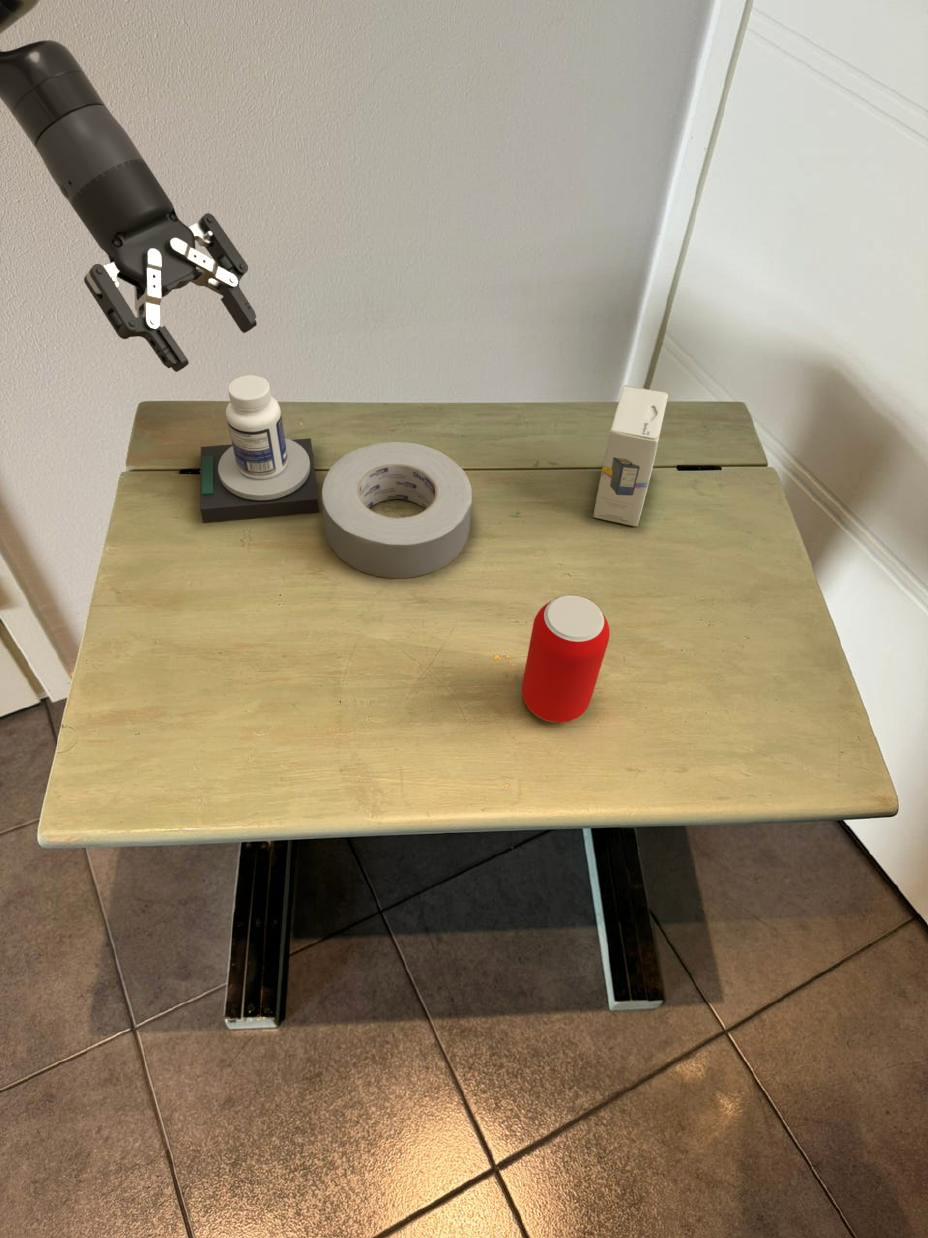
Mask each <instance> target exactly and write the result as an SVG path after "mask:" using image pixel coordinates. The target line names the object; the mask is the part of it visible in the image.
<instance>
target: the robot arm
mask: <svg viewBox="0 0 928 1238" xmlns="http://www.w3.org/2000/svg"><path fill="white" fill-rule="evenodd" d="M40 1H41V0H0V35H1V34H3V33H4V32H6V31H7V30H8V29H10V28H11V27H12V26H13V25H15V24H16V23H17V22H18V21H19V20H21V19H22V18H24V17H26V15H27V14H29V13H30V12H31V11H33V10H34V8H36V6H37V5H38V4H39V3H40ZM0 100H1V101H2V103H4V105H5V107H7V109H8V111H9V112H10V113H11V115H12V116H13V117H14V119H15V120H16V122H17V123H18V125H19V126H20V128H21V129H22V131H23V132H24V133H25V135H26V137H27V138H28V140H29V141H30V142H31V144H32V145H33V146H34V148H35V149H36V151H37V153H38V154H39V156H40V157H41V159H42V161H43V164H44V165H45V167H46V169H47V171H48V173H49V174H50V177H51V178H52V179H53V181H54V183H55V184H56V186H57V187H58V189H59V191H60V193H61V194H62V196H63V197H64V198H65V199H66V200H67V202H68V203H69V205H70V206H71V208H72V209H73V210H74V211H75V212H74V213H76V214H77V216H78V217H79V219H80V220H81V222H82V224H83V225H84V226H85V228H86V229H87V230H88V233H90V235H91V236H92V238H93V239H94V241H95V242H96V244H97V246H98V247H99V248H100V249H101V250H102V251H103V252H104V253H105V254H106V256H107V257H108V259H109V263H107V264H104V265H102V264H101V263H95V264H93V265H92V266H91V267H90V269H89V271H87V273H86V274H85V276H84V278H83V282H84V284H85V285H86V288H87V289H88V291H89V292H90V293H91V295H92V297H93V298H94V300H95V301H96V303H97V305H98V306H99V308H100V309H101V311H102V312H103V315H104V316H105V317H106V319H107V320H108V322H109V323H110V325H111V326H112V328H113V330H114V331H115V334H116V335H117V336H118V337H119V338H120V339H122V340H128V339H129V338H138V337H140V338H142V339H144V340H145V341H146V342H147V343H148V345H149V346H150V347H151V349H152V350H153V352H154V353H155V355H156V356H157V357H158V359H159V360H160V362H161V363H162V364H163V366H164V367H166V368H167V369H172V370H173V371H174V372H176V373H177V372H178V373H179V372H180V371H181V370H183V369H185V368H186V367H187V366H188V365H189V359H188V358H187V356H186V355H185V353H184V352H183V350H182V348H181V347H180V346H179V345H178V343H177V342H176V340H175V339H174V337H173V335H172V334H171V333H170V331H169V329H168V328H167V327H166V325H163V326H161V307H160V306H161V303H162V298H164V297H167V296H169V294H170V293H171V292H172V291H173V290H179V289H182V288H184V287H186V286H187V285H188V284H189V283H191V284H194V285H195V286H198V287H205V288H207V289H209V290H210V291H212V292H215V293H217V294H219V295H220V296H222V298H220V301H221V303H222V304H223V305H224V307H225V309H226V311H227V312H228V313H229V315H230V316H231V318H232V320H233V321H234V323H235V325H236V326H237V327H238V329H239V330H240V331H241V333H243V334H247V332H249V331H251V330H252V329H254V328H255V327H256V326H257V325H258V322H257V320H256V318H257V314H256V311H255V310H254V308H253V306H252V305H251V303H250V302H249V300H248V299H247V297H246V295H245V294H244V293H243V291H242V289H241V287H240V281H241V279H242V278H243V277H244V275H245V274H246V273H248V271H249V266H248V264H247V262H246V260H245V259H244V257H243V256H242V255H241V253H240V252H239V250H238V249H237V248H236V246H235V244H234V243H233V242H232V241H231V239H230V237H229V236H228V234H227V233H226V232H225V230H224V228H223V227H222V226H221V224H220V222H218V220H217V219H216V217H215V216H214V215H213V214H212V213H209V212H207V213H205V214H203V216H202V217H200V218H199V220H198V221H196V222H195V223H192V224H191V225H189V226H188V225H186V224H185V223H184V222H182V220H180V219H179V217H178V215H177V212H176V210H175V207H174V204H173V202H172V201H171V199H170V197H169V196H168V194H167V192H166V191H165V190H164V189H163V187H162V186H161V184H160V182H159V181H158V179H157V177H156V176H155V175H154V173H153V171H152V170H151V168H150V167H149V165H148V163H147V162H146V161H145V159H144V158H143V156H142V154H141V153H140V151H139V150H138V148H137V147H136V145H135V143H134V142H133V141H132V138H131V137H130V136H129V134H128V133H127V131H126V130H125V129H124V127H123V125H121V124H120V123H119V121H118V120H117V119H116V118H115V116H114V115H113V114H112V112H111V111H110V110H109V109H108V107H107V105H106V104H105V102H104V100H103V99H102V97H101V96H100V95H99V93H98V91H97V90H96V88H95V86H94V85H93V83H92V82H91V81H90V79H89V78H88V76H87V74H86V73H85V71H84V70H83V68H82V67H81V64H80V63H79V62H78V61H77V59H76V57H75V56H74V55H73V54H72V52H71V51H70V49H68V48H67V47H66V46H65V45H64V44H62V43H61V42H59V41H56V40H50V39H43V40H38V41H35V42H30V43H28V44H27V43H26V44H25V45H22V46H19V47H18V48H14V49H10V50H5V51H4V50H3V51H2V49H0ZM196 242H197V244H198V246H200V247H204V248H205V249H206V251H207V252H208V253H209V256H211V257H209V256H208V255H206V254H204V253H202V252H200V251H198V250H197V249H196ZM118 279H120V280H122V281H124V282H126V283H127V284H129V285H131V286H133V287H134V309H135V311H136V315H135V314H134V312H133V311H132V309H131V306H129V304H128V302H127V301H126V299H125V297H124V295H122V293H121V291H120V289H119V286H120V283H119V280H118Z"/></svg>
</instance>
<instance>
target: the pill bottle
mask: <svg viewBox="0 0 928 1238" xmlns="http://www.w3.org/2000/svg"><path fill="white" fill-rule="evenodd" d="M270 386H271V385H270V384H269V381H268V380H267V379H265V378H263V377H262V376H258V375H254V374H247V375H241V376H239V377H236V378H235V379H233V380H231V382H230V383H229V385H228V387H227V391H228V397H229V403H228V404H227V406H226V409H225V416H226V417H225V418H226V423H227V427H228V433H229V437H230V440H231V444H232V445H233V450H234V455H235V459H236V463H237V467H238V469H239V470H240V472H241V473H243V474H244V475H245V476H247V477H250V478H254V479H267V478H271V477H274V476H276V475H278V474H279V473H281V472H282V471H283V470H284V469H285V467H286V465H287V463H288V455H287V448H286V442H285V438H286V437H285V430H284V429H285V428H284V423H283V417H282V411H281V407H280V404H279V403H278V401H277V400H276V399H275V398H274V397H273V396H272V392H271V388H270Z"/></svg>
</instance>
